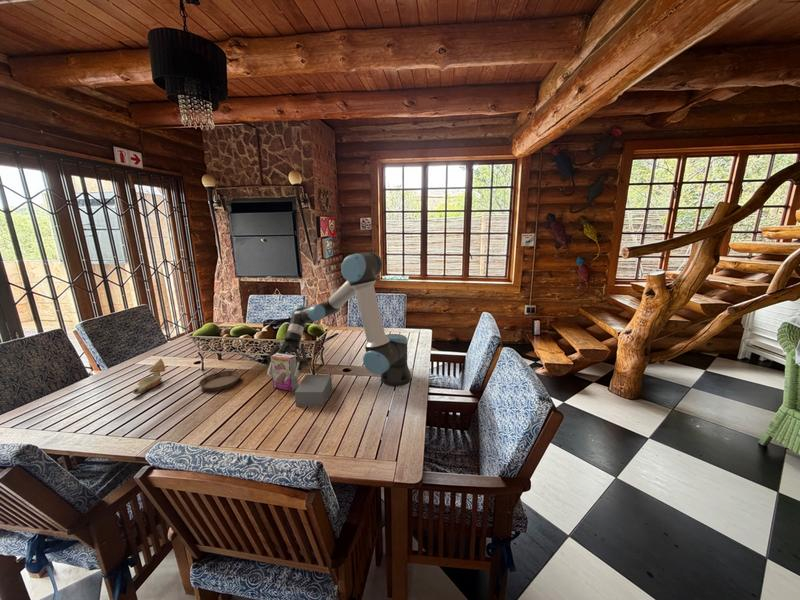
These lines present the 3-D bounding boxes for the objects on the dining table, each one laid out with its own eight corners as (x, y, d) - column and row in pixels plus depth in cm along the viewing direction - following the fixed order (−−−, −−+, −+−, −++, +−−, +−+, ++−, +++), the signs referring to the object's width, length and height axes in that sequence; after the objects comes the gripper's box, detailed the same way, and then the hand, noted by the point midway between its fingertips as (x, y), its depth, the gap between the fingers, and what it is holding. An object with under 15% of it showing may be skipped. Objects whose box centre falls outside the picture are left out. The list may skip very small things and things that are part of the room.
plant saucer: (191, 387, 153) (190, 382, 152) (226, 373, 168) (225, 367, 167) (214, 396, 145) (213, 390, 144) (248, 380, 160) (247, 374, 159)
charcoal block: (332, 388, 151) (331, 374, 150) (323, 406, 136) (322, 392, 134) (307, 388, 152) (306, 374, 150) (295, 406, 136) (294, 391, 135)
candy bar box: (272, 388, 151) (269, 356, 148) (280, 383, 156) (276, 352, 152) (292, 392, 148) (289, 359, 144) (298, 387, 152) (296, 355, 148)
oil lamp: (173, 376, 164) (169, 358, 162) (145, 397, 144) (140, 377, 141) (155, 377, 164) (151, 359, 161) (124, 398, 143) (119, 378, 141)
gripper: (320, 338, 161) (310, 380, 149) (274, 336, 164) (261, 377, 153) (315, 332, 154) (304, 374, 143) (267, 330, 157) (253, 371, 146)
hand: (282, 376), depth 148 cm, fingers open, 13 cm apart
